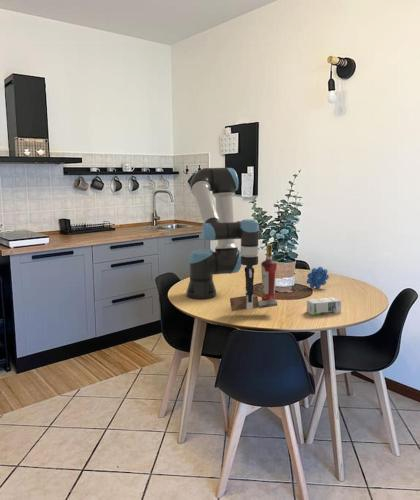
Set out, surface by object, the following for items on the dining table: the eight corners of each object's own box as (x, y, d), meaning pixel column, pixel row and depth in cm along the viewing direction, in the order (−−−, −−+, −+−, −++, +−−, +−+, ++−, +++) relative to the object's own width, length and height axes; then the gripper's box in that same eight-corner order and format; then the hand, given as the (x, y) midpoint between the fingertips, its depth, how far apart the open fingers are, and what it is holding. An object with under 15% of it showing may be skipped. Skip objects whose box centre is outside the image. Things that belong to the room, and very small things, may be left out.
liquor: (258, 299, 218) (258, 244, 213) (271, 298, 220) (272, 242, 215) (265, 304, 211) (265, 246, 206) (278, 302, 214) (279, 245, 209)
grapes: (326, 286, 241) (327, 264, 239) (329, 289, 234) (330, 267, 232) (305, 286, 242) (305, 264, 240) (307, 289, 235) (307, 267, 233)
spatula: (232, 312, 192) (230, 301, 192) (231, 307, 198) (229, 297, 198) (277, 305, 192) (276, 294, 192) (275, 301, 198) (273, 291, 197)
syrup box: (312, 303, 193) (342, 300, 197) (306, 299, 199) (335, 296, 202) (312, 315, 194) (341, 312, 198) (306, 311, 200) (334, 308, 203)
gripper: (260, 259, 183) (259, 313, 187) (256, 251, 199) (256, 301, 204) (242, 259, 183) (242, 313, 187) (239, 251, 200) (239, 301, 204)
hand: (249, 307), depth 195 cm, fingers closed on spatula, 4 cm apart
